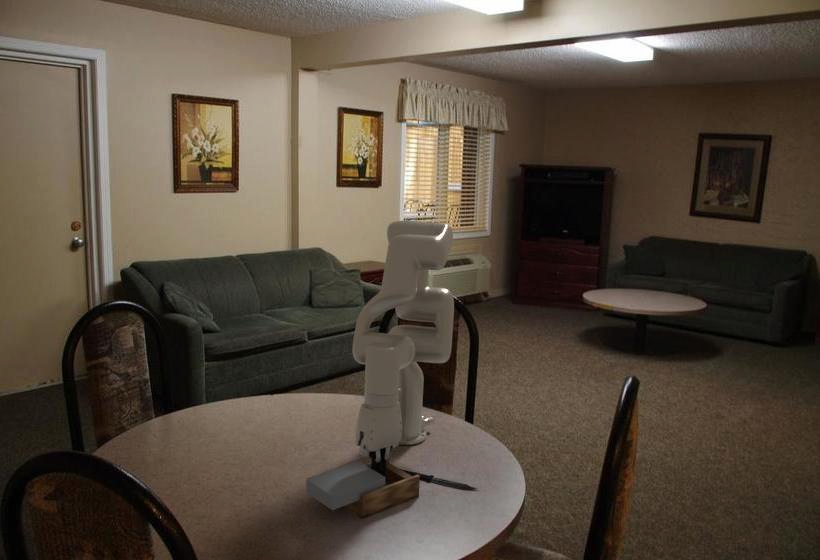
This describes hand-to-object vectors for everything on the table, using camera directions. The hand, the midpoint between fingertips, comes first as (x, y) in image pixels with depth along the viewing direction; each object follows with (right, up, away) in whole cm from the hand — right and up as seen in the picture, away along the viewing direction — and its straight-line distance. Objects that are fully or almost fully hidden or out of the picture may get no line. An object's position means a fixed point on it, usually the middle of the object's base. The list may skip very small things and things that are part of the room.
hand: (378, 475), depth 146 cm
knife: (+14, -5, +9) cm, 17 cm away
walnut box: (-1, -5, +1) cm, 5 cm away
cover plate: (-7, -2, -5) cm, 9 cm away
